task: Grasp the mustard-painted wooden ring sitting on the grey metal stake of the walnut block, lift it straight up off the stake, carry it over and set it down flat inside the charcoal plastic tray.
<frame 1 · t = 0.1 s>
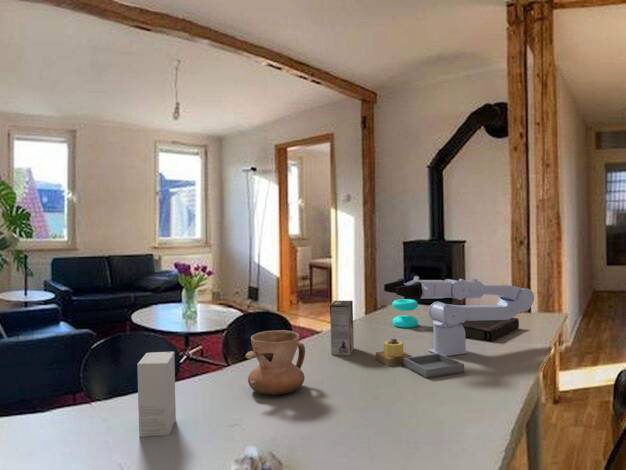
hand: (390, 289, 152), 22 cm above the table, tool horizontal, fingers open, 7 cm apart
donuts: (405, 326, 198), on the table
diary: (481, 333, 185), on the table
ring: (393, 354, 152), point 2 cm above the table, touching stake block
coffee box: (342, 352, 163), on the table
tray: (433, 369, 142), on the table
skincare box: (159, 429, 107), on the table
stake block: (393, 360, 152), on the table
ceramic jug: (278, 390, 129), on the table
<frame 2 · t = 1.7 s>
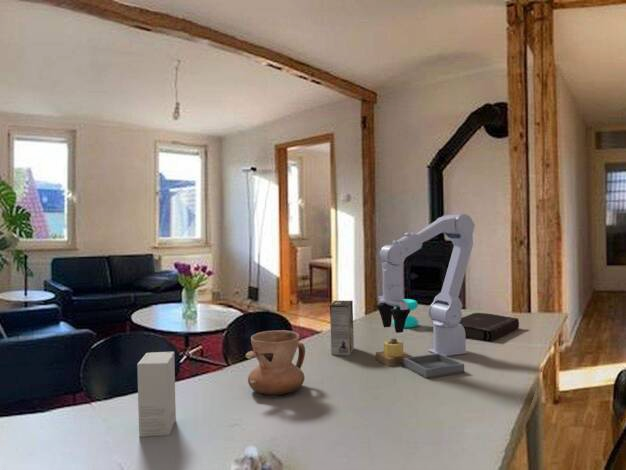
hand: (393, 329, 151), 9 cm above the table, tool pointing down, fingers open, 7 cm apart
nothing on the table moved.
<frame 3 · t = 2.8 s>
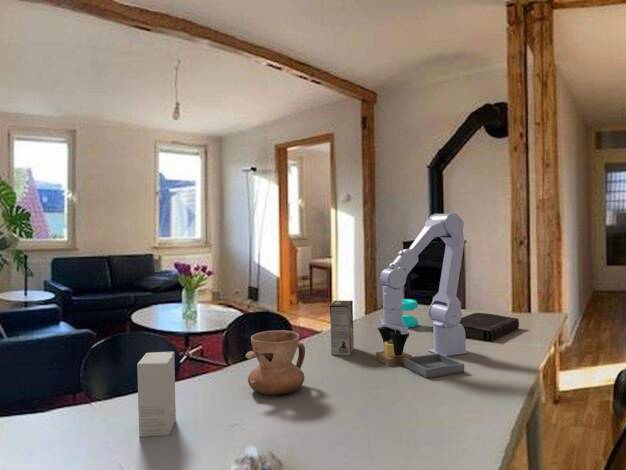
hand: (393, 352, 152), 2 cm above the table, tool pointing down, fingers closed on ring, 5 cm apart
ring: (393, 354, 152), point 2 cm above the table, touching gripper, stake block
everything else where it was.
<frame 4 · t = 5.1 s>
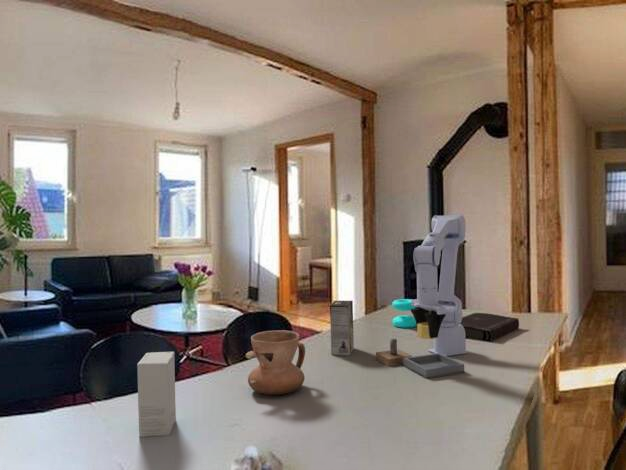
hand: (428, 335, 143), 10 cm above the table, tool pointing down, fingers closed on ring, 5 cm apart
ring: (427, 336, 143), point 9 cm above the table, touching gripper
everything else where it was.
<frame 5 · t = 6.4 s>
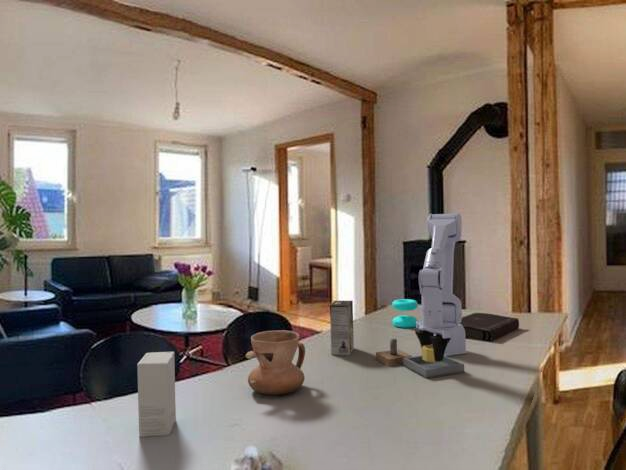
hand: (432, 357, 142), 3 cm above the table, tool pointing down, fingers closed on ring, 5 cm apart
ring: (432, 359, 142), point 3 cm above the table, touching gripper
everything else where it was.
when the fingers open (2 cm above the table, at t = 7.2 s): ring drops 1 cm, resting on tray.
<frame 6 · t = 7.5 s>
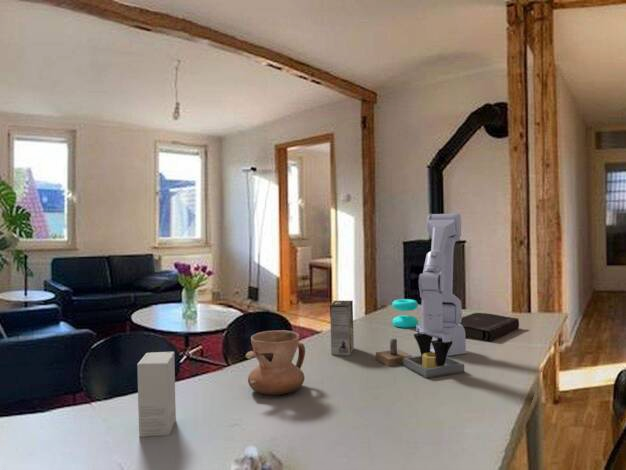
hand: (432, 361, 142), 2 cm above the table, tool pointing down, fingers open, 7 cm apart
ring: (432, 367, 142), point 1 cm above the table, touching tray
everything else where it was.
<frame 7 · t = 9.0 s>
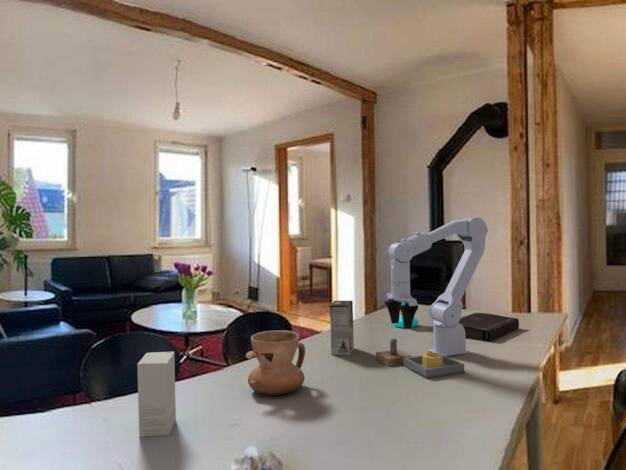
hand: (401, 325, 155), 10 cm above the table, tool pointing down, fingers open, 7 cm apart
nothing on the table moved.
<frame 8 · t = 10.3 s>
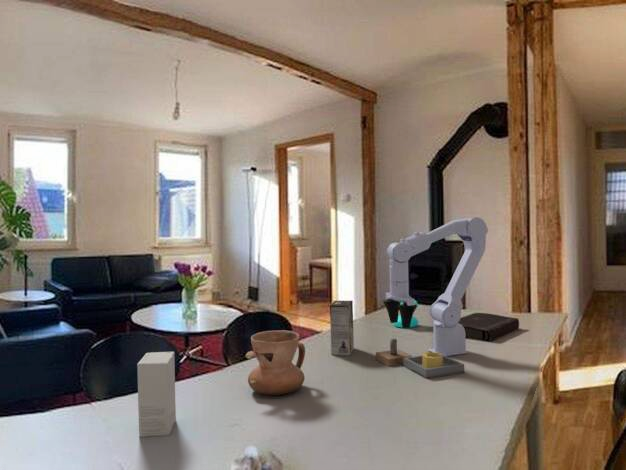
hand: (399, 325, 155), 10 cm above the table, tool pointing down, fingers open, 7 cm apart
nothing on the table moved.
at the end: ring inside the target area on the tray (0.1 cm from its centre), point 0.6 cm above the tray's base; ring tilted 0°; the gripper is holding nothing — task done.
